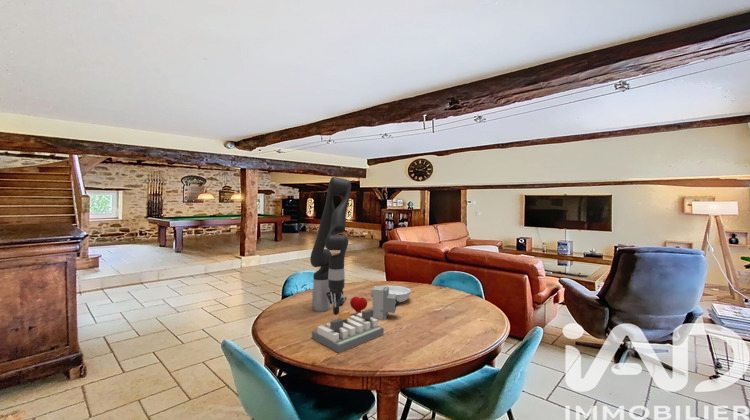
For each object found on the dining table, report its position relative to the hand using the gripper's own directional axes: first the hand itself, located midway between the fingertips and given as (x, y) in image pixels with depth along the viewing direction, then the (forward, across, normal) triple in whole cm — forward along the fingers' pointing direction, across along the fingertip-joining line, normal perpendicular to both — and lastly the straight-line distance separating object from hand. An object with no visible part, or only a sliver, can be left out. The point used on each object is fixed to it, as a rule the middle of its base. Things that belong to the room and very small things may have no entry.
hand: (336, 314), depth 152 cm
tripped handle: (+4, -6, 0) cm, 7 cm away
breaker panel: (+8, -9, 0) cm, 12 cm away
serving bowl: (+8, +12, -53) cm, 55 cm away
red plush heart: (+8, +6, -20) cm, 22 cm away
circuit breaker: (+8, -3, -30) cm, 31 cm away
